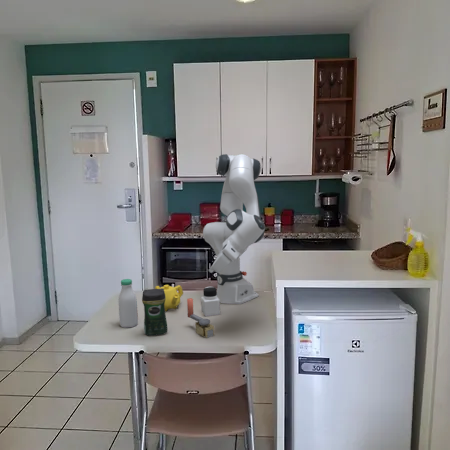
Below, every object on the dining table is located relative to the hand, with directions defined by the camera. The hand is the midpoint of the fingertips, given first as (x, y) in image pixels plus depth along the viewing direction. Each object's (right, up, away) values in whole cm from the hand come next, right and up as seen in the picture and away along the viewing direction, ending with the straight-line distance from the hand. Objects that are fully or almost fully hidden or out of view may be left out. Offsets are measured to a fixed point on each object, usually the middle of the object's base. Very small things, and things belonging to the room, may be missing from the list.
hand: (210, 270), depth 178 cm
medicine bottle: (0, -22, +20) cm, 29 cm away
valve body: (-2, -25, -3) cm, 26 cm away
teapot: (-21, -21, +27) cm, 41 cm away
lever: (-5, -21, 0) cm, 21 cm away
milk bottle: (-36, -24, +8) cm, 44 cm away
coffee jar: (-22, -26, -1) cm, 34 cm away
